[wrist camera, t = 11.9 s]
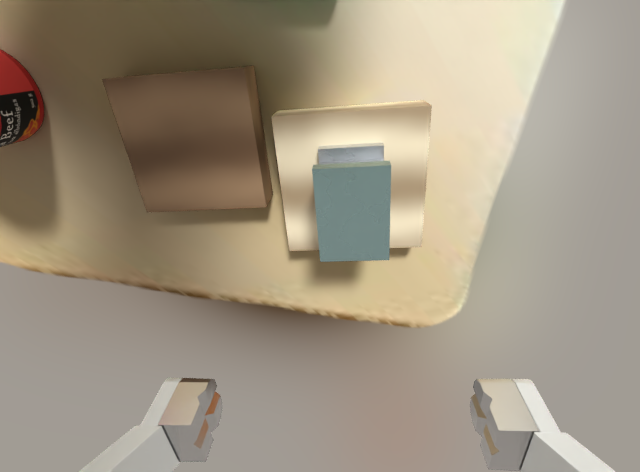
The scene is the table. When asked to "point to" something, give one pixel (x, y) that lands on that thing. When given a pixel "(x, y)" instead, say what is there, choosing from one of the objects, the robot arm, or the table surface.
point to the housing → (352, 202)
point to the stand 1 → (194, 138)
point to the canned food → (18, 102)
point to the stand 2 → (354, 128)
